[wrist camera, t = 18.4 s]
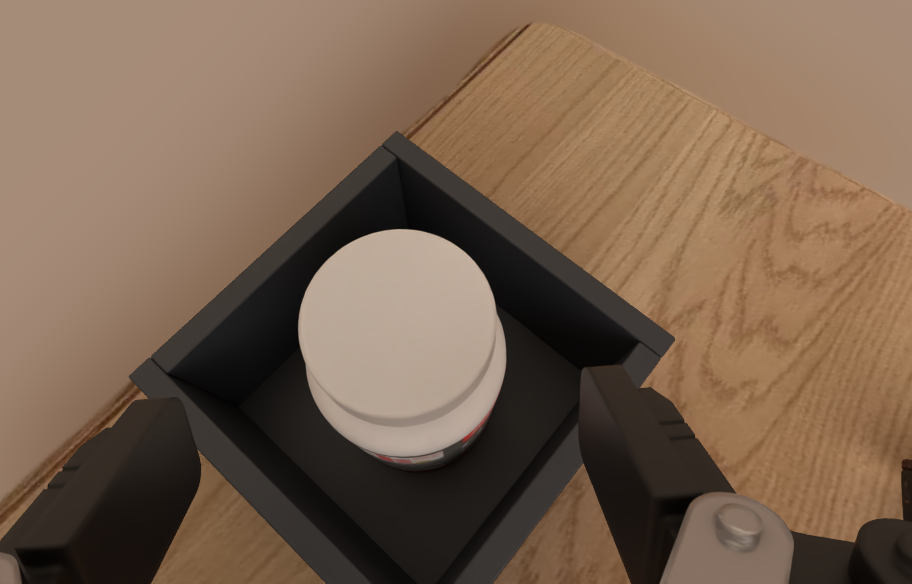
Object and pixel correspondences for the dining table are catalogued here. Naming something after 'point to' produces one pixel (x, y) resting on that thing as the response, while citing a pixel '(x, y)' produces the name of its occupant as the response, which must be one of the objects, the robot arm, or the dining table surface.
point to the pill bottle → (403, 348)
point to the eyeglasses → (907, 489)
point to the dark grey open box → (347, 466)
